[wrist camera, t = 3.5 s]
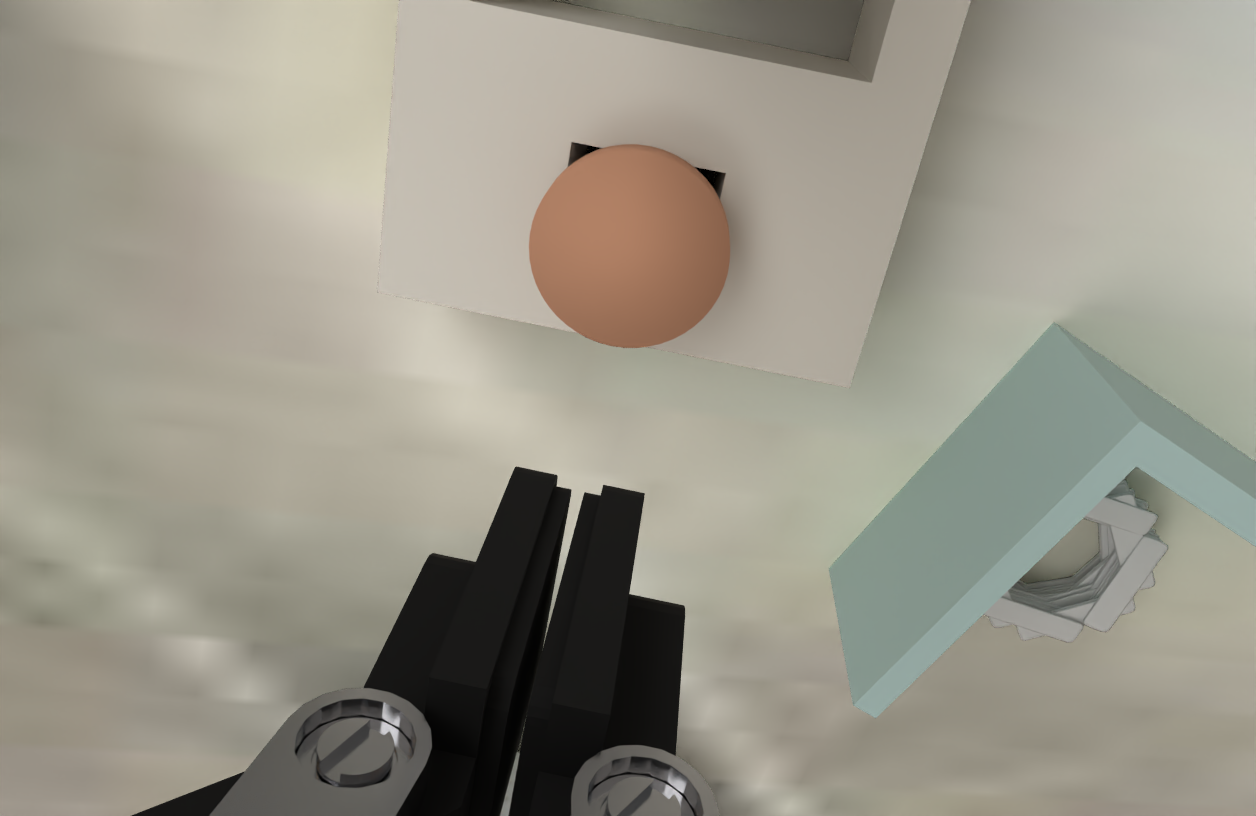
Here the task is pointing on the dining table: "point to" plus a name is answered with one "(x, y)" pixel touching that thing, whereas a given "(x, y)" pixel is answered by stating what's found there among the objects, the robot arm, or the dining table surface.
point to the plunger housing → (678, 123)
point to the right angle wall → (1027, 516)
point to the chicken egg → (630, 246)
